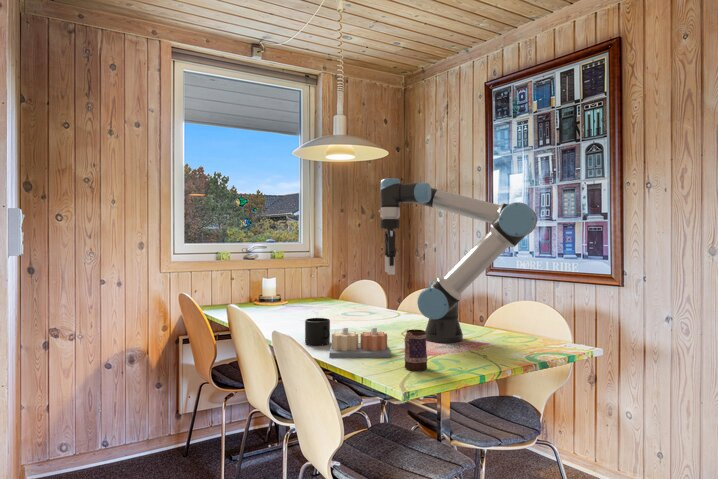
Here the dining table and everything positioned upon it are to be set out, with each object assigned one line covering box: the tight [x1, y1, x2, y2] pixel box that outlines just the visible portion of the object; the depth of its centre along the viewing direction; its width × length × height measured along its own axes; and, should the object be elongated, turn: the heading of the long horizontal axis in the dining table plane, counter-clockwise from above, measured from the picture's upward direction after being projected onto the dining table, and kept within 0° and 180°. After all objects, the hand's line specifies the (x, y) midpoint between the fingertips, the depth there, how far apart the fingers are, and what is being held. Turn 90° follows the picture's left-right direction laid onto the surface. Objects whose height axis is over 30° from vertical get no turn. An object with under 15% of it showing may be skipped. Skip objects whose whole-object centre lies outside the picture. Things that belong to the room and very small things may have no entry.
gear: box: [359, 331, 388, 351], centre depth 177 cm, size 9×9×5 cm
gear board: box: [328, 327, 391, 358], centre depth 177 cm, size 21×16×8 cm
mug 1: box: [304, 317, 331, 347], centre depth 191 cm, size 9×12×9 cm
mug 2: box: [404, 328, 428, 372], centre depth 154 cm, size 10×7×12 cm
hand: (389, 273), depth 195 cm, fingers open, 13 cm apart
